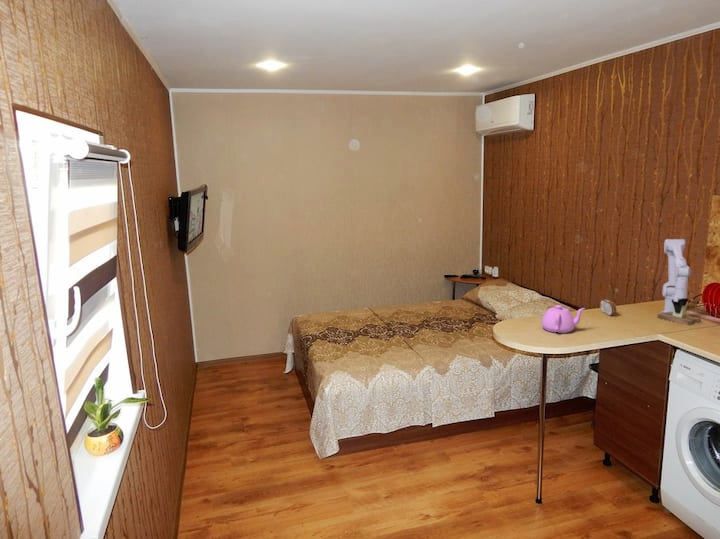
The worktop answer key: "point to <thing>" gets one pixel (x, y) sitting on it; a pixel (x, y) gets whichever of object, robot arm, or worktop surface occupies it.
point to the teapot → (560, 319)
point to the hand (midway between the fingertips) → (679, 311)
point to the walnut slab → (679, 318)
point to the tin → (608, 307)
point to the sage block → (682, 312)
